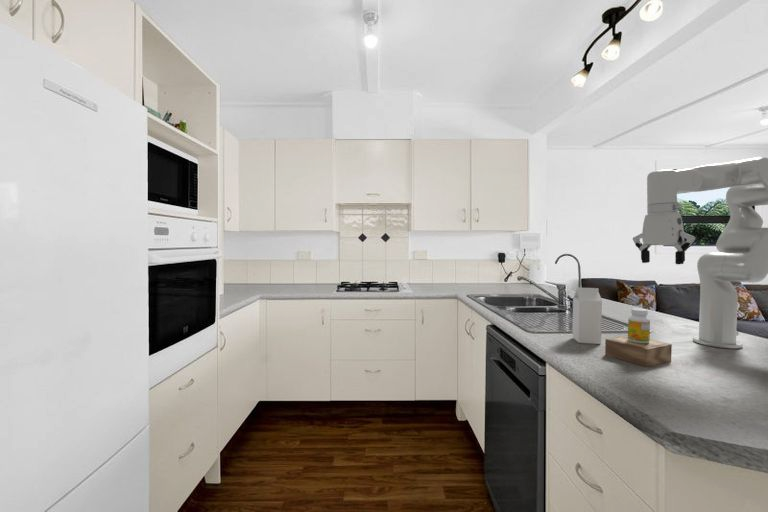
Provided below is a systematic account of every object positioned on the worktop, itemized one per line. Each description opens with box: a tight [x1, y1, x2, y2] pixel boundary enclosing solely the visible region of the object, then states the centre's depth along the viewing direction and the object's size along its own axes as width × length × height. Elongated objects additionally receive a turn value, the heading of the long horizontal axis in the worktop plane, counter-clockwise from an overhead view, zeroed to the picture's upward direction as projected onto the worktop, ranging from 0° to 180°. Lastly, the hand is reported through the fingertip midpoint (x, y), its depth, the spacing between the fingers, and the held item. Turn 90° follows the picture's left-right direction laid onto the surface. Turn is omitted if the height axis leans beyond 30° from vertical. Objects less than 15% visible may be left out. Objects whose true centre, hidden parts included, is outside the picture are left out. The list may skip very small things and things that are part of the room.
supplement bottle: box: [627, 307, 651, 343], centre depth 109 cm, size 5×5×10 cm
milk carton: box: [571, 287, 603, 345], centre depth 128 cm, size 7×7×19 cm
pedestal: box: [604, 334, 673, 368], centre depth 110 cm, size 12×12×5 cm
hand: (662, 263), depth 116 cm, fingers open, 9 cm apart
